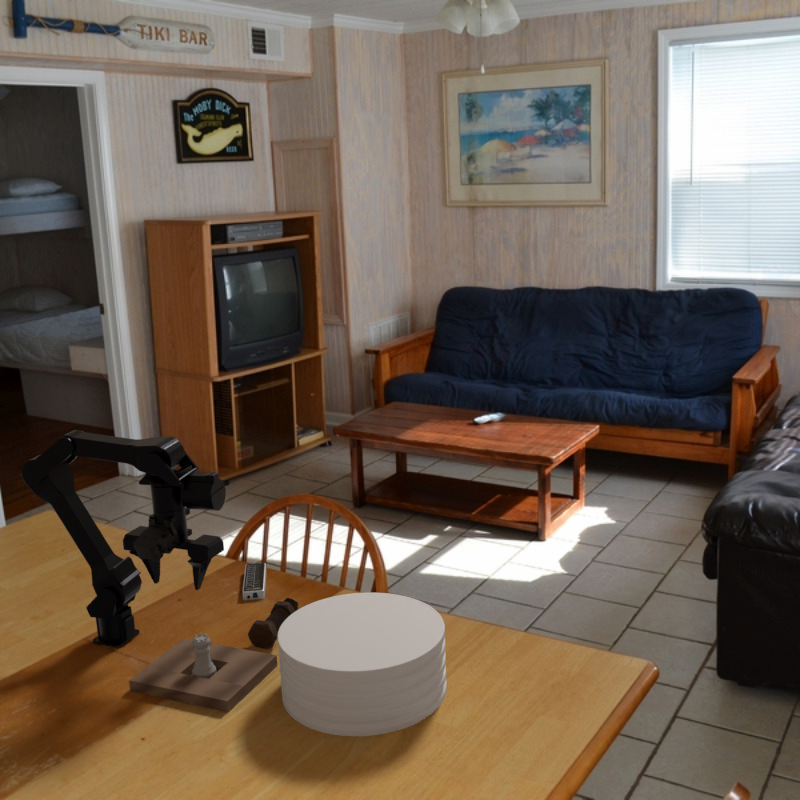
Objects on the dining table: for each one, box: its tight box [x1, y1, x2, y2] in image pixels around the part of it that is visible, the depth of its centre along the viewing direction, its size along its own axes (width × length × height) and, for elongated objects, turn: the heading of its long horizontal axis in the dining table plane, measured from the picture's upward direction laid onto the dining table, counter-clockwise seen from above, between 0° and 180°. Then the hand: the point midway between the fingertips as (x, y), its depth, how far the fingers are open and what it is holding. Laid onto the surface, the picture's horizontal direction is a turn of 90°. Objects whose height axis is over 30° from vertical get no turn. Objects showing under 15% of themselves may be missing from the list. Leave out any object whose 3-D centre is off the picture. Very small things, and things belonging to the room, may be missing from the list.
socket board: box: [128, 637, 278, 713], centre depth 173 cm, size 20×16×2 cm
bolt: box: [247, 597, 299, 650], centre depth 189 cm, size 6×5×15 cm
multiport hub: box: [242, 562, 267, 601], centre depth 210 cm, size 4×14×2 cm, turn 6°
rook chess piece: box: [192, 633, 217, 679], centre depth 172 cm, size 4×4×8 cm
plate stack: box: [277, 592, 448, 737], centre depth 166 cm, size 28×28×12 cm
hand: (177, 586), depth 183 cm, fingers open, 9 cm apart
